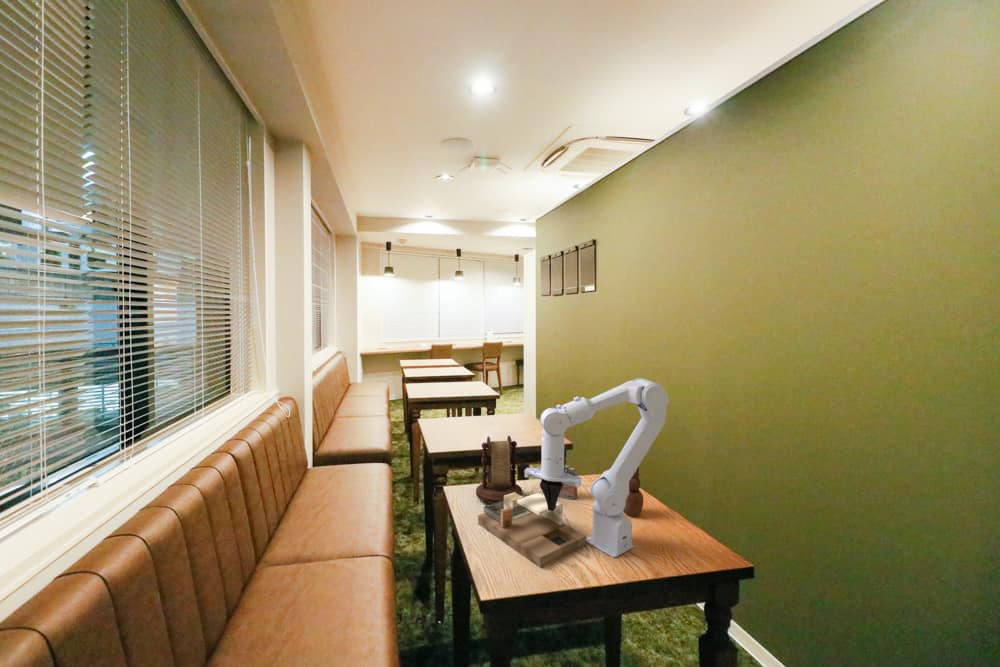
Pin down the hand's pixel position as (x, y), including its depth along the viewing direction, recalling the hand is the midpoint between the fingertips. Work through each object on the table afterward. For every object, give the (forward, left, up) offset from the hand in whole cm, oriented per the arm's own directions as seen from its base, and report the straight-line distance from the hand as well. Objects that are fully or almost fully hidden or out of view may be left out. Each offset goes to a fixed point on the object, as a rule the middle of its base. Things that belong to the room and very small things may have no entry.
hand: (551, 509), depth 108 cm
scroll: (+30, -6, -10) cm, 32 cm away
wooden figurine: (-2, -31, -10) cm, 32 cm away
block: (+17, -1, -7) cm, 18 cm away
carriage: (+15, +2, -7) cm, 17 cm away
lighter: (+18, -24, -10) cm, 32 cm away
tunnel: (+7, +1, -9) cm, 12 cm away
